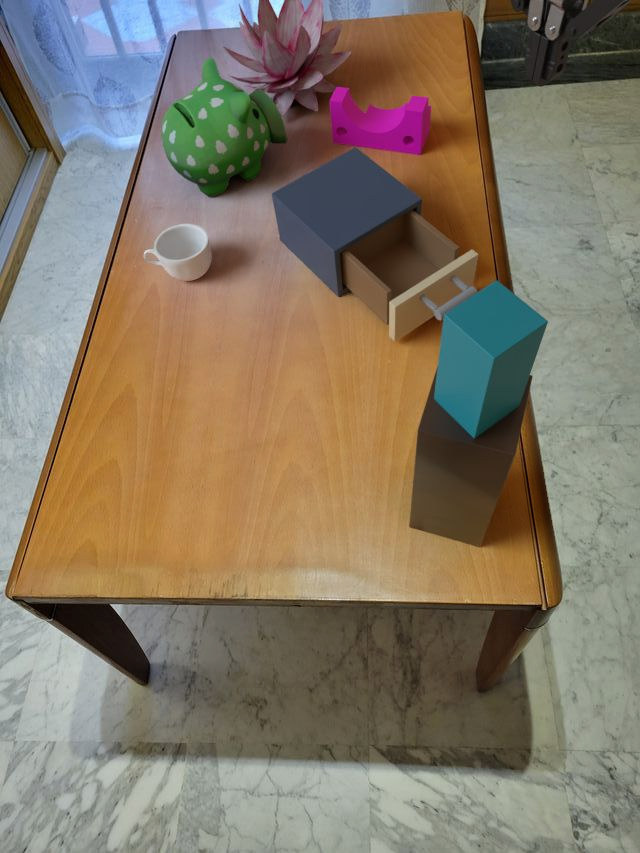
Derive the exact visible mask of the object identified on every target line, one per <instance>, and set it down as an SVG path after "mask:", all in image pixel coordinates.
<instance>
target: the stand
mask: <svg viewBox="0 0 640 853" xmlns="http://www.w3.org/2000/svg"><path fill="white" fill-rule="evenodd" d="M437 369H438V365H437V366H436V369H435V372H434V376H433V379H432V382H431V385H430V389H429V391H428V395H427V399H426V401H425V405H424V408H423V412H422V414H421V418H420V421H419V425H418V428H417V431H416V433H417V434H416V443H415V445H416V446H415V456H414V467H413V478H412V479H413V480H412V490H411V500H410V502H411V503H410V513H409V523H408V524H409V525H408V526H409V528H411V529H415V530H418V531H421V532H426V533H428V534H432V535H436V536H439V537H442V538H445V539H450V540H452V541H456V542H461V543H464V544H467V545H471V546H474V547H477V548H481V546H482V543H483V541H484V538H485V535H486V533H487V530H488V528H489V525H490V522H491V520H492V517H493V515H494V512H495V509H496V507H497V505H498V502H499V499H500V496H501V494H502V491H503V489H504V486H505V483H506V480H507V478H508V475H509V473H510V470H511V467H512V464H513V462H514V459H515V456H516V455H517V454H516V453H517V449H518V444H519V440H520V436H521V431H522V427H523V423H524V417H525V414H526V408H527V404H528V401H529V400H528V399H529V395H530V391H531V387H532V386H531V385H532V380H533V375H531V374H530V376H529V379H528V382H527V385H526V388H525V390H524V393H523V396H522V399H521V402H520V405H519V407H517V408H516V409H515V410H513V411H512V412H510V413H509V414H508V415H506V416H505V417H504V418H502V419H501V420H499V421H498V422H497V423H495V424H494V425H493V426H491V427H490V428H488V429H487V430H486V431H484V432H483V433H482V434H480V435H479V436H477V437H476V438H473V437H472V436H471V435H470V434H469V433H468V432H467V431H466V430H465V429H464V428H463V427H462V426H461V425H460V424H459V423H458V422H457V421H456V420H455V419H454V418H453V417H452V416H451V415H450V414H449V413H448V412H447V411H446V410H445V409H444V408H443V407H442V406H441V405H440V404H439V403H438V402H437V401H436V400H435V399H434V393H435V385H436V377H437Z"/></svg>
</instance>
